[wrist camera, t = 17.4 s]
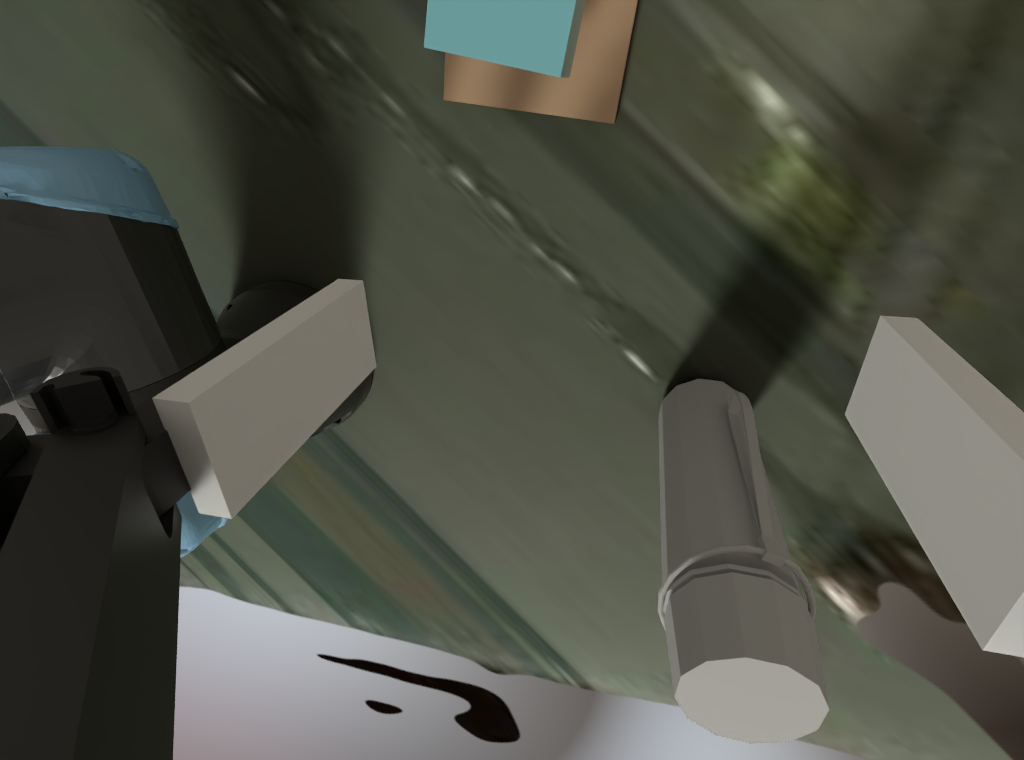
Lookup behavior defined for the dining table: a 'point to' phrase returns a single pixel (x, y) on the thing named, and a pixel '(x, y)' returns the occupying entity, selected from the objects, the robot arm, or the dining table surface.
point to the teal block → (508, 32)
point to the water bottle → (731, 577)
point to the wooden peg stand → (574, 97)
